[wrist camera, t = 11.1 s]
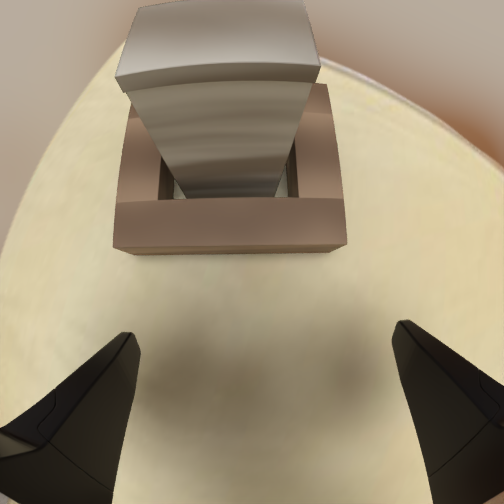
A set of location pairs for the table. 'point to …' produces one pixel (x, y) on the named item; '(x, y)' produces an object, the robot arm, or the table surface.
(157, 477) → the table surface
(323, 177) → the walnut groove block
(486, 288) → the table surface
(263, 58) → the grey wooden tall block
